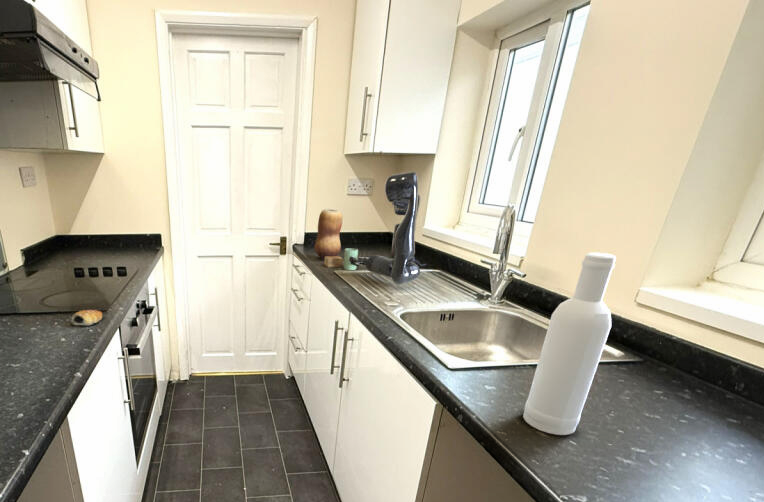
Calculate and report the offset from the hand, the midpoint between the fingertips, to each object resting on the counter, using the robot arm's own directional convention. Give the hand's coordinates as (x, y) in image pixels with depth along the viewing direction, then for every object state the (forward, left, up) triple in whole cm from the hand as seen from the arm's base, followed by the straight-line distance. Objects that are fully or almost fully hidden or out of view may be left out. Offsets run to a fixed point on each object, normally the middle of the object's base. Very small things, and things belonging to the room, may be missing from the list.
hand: (358, 258), depth 185 cm
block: (+7, -14, -6) cm, 17 cm away
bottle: (+14, +123, -6) cm, 124 cm away
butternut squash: (+5, -30, -6) cm, 31 cm away
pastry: (+107, +53, -6) cm, 120 cm away
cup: (+1, -6, -6) cm, 9 cm away
